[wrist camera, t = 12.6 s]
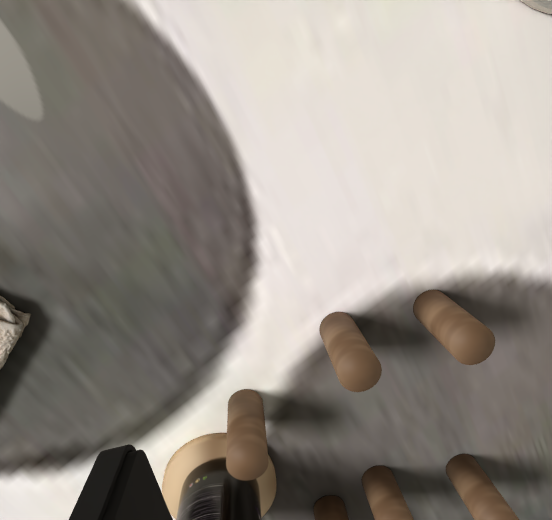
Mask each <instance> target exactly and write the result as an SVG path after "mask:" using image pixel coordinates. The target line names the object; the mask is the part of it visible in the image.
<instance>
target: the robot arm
mask: <svg viewBox="0 0 552 520" xmlns="http://www.w3.org/2000/svg"><path fill="white" fill-rule="evenodd" d="M520 1H522V2H523V3H525V4H526V5H528V6H529V7H531V8H533V9H536V10H538V11H541V12H544V13H547V14H552V0H520ZM69 520H173V519H172V517H171V514H170V512H169V510H168V507H167V505H166V502H165V500H164V497H163V495H162V493H161V490H160V488H159V485H158V483H157V481H156V478H155V476H154V473H153V471H152V468H151V466H150V464H149V461H148V459H147V456H146V454H145V452H144V451H143V450H137V451H136V449H135V447H133V446H132V445H125V446H121V447H117V448H113V449H108V450H104V451H102V452H100V454H99V455H98V457H97V459H96V461H95V463H94V465H93V468H92V470H91V472H90V474H89V476H88V479H87V481H86V483H85V485H84V487H83V490H82V492H81V494H80V496H79V498H78V501H77V503H76V505H75V507H74V509H73V512H72V514H71V516H70V518H69Z"/></svg>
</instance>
